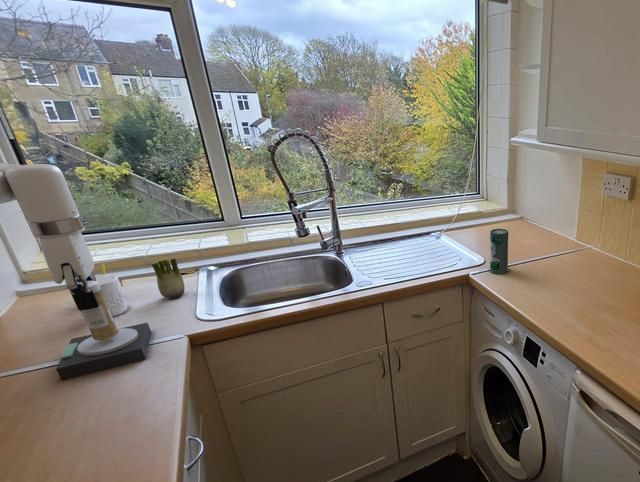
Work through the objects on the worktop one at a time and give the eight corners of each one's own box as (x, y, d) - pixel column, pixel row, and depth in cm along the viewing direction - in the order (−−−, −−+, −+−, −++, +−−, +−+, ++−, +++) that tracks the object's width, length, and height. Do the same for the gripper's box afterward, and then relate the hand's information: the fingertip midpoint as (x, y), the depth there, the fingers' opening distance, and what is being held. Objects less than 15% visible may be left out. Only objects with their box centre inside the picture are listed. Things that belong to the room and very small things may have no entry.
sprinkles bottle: (123, 330, 97) (102, 279, 92) (111, 340, 93) (89, 287, 88) (100, 332, 96) (78, 280, 91) (87, 342, 92) (63, 289, 87)
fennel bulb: (187, 291, 127) (175, 255, 122) (186, 297, 123) (173, 260, 119) (164, 295, 124) (151, 258, 119) (161, 301, 120) (148, 264, 116)
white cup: (91, 322, 109) (76, 289, 105) (93, 311, 115) (79, 279, 111) (130, 313, 114) (116, 281, 110) (130, 303, 119) (118, 272, 115)
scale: (61, 380, 87) (54, 365, 86) (76, 349, 98) (70, 335, 96) (145, 359, 95) (140, 345, 93) (151, 332, 105) (146, 319, 104)
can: (489, 268, 149) (488, 229, 144) (504, 266, 151) (505, 228, 145) (492, 274, 144) (492, 234, 138) (509, 273, 146) (509, 233, 140)
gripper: (43, 218, 88) (77, 293, 96) (17, 240, 76) (58, 324, 83) (90, 214, 92) (119, 286, 100) (73, 234, 80) (107, 315, 87)
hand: (91, 303), depth 91 cm, fingers closed on sprinkles bottle, 4 cm apart
